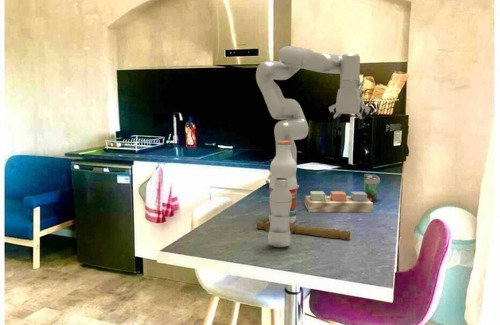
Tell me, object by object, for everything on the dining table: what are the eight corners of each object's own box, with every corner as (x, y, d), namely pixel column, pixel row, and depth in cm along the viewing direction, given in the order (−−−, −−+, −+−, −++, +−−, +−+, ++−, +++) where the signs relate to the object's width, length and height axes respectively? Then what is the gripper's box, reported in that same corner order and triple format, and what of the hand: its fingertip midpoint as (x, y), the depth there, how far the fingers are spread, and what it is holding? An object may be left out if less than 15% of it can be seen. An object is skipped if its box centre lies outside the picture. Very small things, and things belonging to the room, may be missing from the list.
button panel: (309, 212, 170) (309, 202, 170) (304, 204, 182) (305, 195, 181) (372, 212, 170) (373, 203, 170) (364, 204, 182) (364, 196, 182)
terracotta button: (332, 203, 173) (333, 194, 173) (330, 200, 178) (330, 191, 178) (345, 203, 173) (346, 194, 173) (343, 200, 178) (343, 191, 178)
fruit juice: (272, 216, 164) (274, 139, 160) (298, 218, 161) (300, 140, 157) (265, 223, 155) (267, 141, 151) (292, 226, 152) (295, 143, 148)
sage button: (311, 203, 173) (312, 194, 173) (310, 199, 178) (310, 191, 178) (324, 203, 173) (325, 194, 173) (322, 200, 178) (323, 191, 178)
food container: (380, 204, 183) (381, 179, 182) (364, 203, 185) (365, 179, 183) (378, 197, 195) (379, 174, 194) (363, 196, 197) (364, 173, 195)
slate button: (353, 203, 173) (354, 194, 173) (350, 200, 178) (351, 191, 178) (366, 203, 174) (367, 194, 173) (363, 200, 178) (363, 191, 178)
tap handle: (349, 232, 138) (255, 221, 148) (348, 242, 138) (255, 230, 148) (350, 229, 140) (258, 218, 150) (350, 239, 141) (258, 227, 151)
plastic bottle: (266, 242, 135) (267, 176, 132) (289, 242, 136) (290, 176, 133) (269, 250, 129) (270, 181, 126) (292, 249, 130) (294, 181, 126)
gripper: (374, 85, 180) (372, 128, 182) (333, 86, 189) (332, 127, 192) (367, 84, 174) (365, 129, 176) (325, 85, 183) (324, 128, 186)
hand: (348, 128), depth 184 cm, fingers open, 9 cm apart
